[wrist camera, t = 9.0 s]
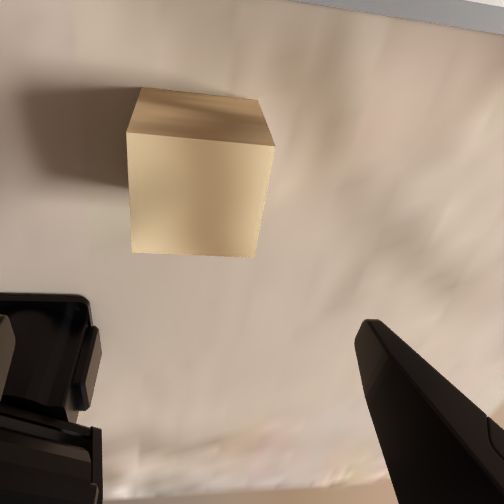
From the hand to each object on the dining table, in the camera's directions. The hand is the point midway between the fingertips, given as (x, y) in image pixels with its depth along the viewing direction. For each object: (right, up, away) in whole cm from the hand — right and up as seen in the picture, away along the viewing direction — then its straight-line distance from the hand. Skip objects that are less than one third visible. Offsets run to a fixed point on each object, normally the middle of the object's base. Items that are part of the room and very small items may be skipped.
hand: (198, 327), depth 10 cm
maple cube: (-1, +7, +9) cm, 11 cm away
